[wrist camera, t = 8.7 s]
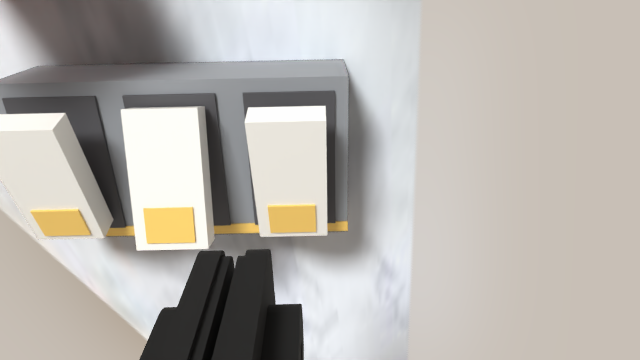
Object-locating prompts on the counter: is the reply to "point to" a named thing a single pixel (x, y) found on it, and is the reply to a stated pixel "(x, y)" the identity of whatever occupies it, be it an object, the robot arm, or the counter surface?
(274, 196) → the rocker
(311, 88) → the switch unit
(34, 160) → the rocker
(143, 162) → the rocker
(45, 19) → the counter surface
